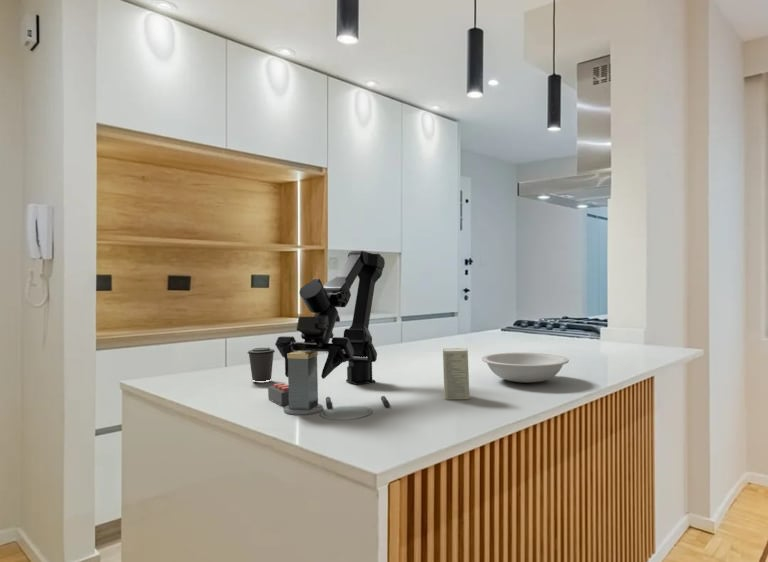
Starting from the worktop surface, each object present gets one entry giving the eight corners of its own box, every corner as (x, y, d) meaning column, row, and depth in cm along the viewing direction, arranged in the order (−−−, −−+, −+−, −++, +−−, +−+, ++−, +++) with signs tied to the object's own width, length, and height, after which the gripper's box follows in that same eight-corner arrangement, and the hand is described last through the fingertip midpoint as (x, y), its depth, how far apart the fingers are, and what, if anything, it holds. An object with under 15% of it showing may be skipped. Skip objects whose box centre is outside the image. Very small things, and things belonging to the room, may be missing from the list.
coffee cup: (281, 380, 157) (280, 347, 157) (261, 385, 150) (260, 350, 150) (262, 378, 161) (261, 345, 161) (241, 382, 154) (241, 349, 154)
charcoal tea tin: (298, 404, 124) (297, 350, 124) (318, 405, 123) (317, 351, 122) (288, 409, 119) (287, 353, 119) (309, 410, 118) (308, 354, 117)
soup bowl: (465, 379, 154) (464, 357, 154) (525, 371, 166) (524, 350, 166) (524, 394, 133) (523, 368, 133) (587, 383, 145) (587, 359, 145)
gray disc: (312, 403, 127) (312, 400, 127) (329, 410, 119) (329, 408, 119) (277, 408, 122) (277, 406, 122) (292, 417, 115) (292, 414, 115)
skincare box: (468, 395, 132) (467, 347, 132) (469, 400, 128) (468, 350, 128) (443, 395, 133) (442, 348, 133) (443, 399, 128) (442, 350, 128)
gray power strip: (268, 399, 132) (268, 383, 132) (284, 396, 135) (284, 381, 135) (281, 406, 125) (281, 389, 125) (298, 403, 127) (298, 387, 127)
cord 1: (325, 401, 129) (325, 396, 129) (330, 401, 129) (330, 396, 129) (326, 408, 122) (326, 403, 122) (331, 408, 122) (331, 403, 122)
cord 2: (380, 400, 128) (380, 396, 128) (385, 400, 128) (385, 395, 128) (384, 407, 121) (384, 402, 121) (389, 407, 122) (389, 402, 122)
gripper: (277, 303, 129) (255, 355, 119) (348, 303, 124) (331, 357, 113) (293, 332, 137) (273, 382, 126) (360, 332, 131) (345, 386, 121)
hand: (304, 376), depth 121 cm, fingers open, 9 cm apart
